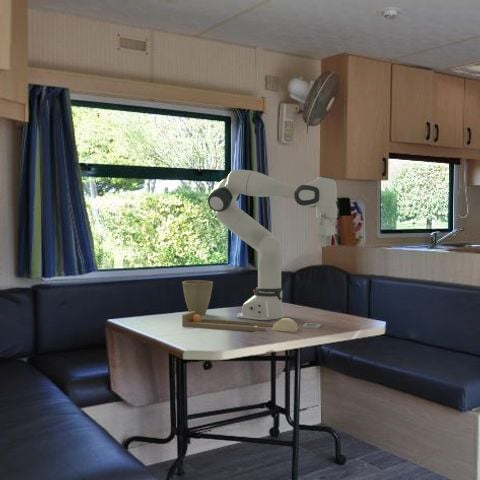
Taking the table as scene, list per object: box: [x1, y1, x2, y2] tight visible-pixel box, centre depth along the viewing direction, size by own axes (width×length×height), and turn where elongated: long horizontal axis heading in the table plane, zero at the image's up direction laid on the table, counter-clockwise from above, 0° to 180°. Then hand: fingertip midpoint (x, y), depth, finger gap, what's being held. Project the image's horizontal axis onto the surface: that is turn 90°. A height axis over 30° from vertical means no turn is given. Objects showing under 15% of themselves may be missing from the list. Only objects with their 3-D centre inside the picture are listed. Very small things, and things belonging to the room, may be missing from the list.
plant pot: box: [181, 279, 214, 317], centre depth 288 cm, size 15×15×16 cm
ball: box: [193, 315, 203, 323], centre depth 262 cm, size 4×4×4 cm
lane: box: [181, 311, 299, 333], centre depth 255 cm, size 50×11×10 cm, turn 70°
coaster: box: [301, 322, 322, 330], centre depth 254 cm, size 7×7×1 cm
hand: (326, 246), depth 255 cm, fingers open, 8 cm apart
